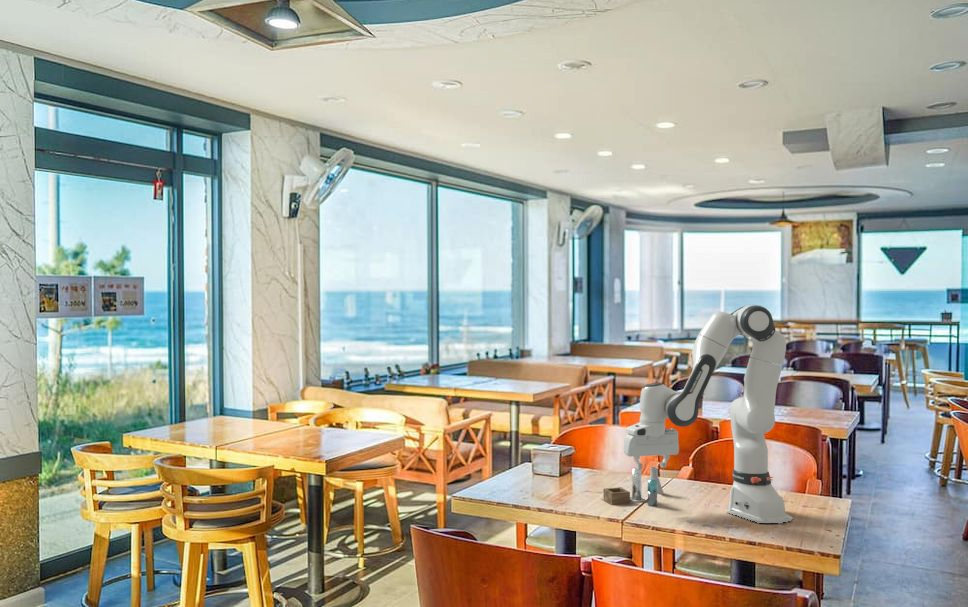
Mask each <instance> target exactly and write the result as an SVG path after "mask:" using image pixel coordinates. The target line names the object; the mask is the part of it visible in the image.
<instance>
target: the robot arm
mask: <svg viewBox="0 0 968 607" xmlns="http://www.w3.org/2000/svg"><path fill="white" fill-rule="evenodd" d="M738 336H744V337H749V338H750V339H751V341H752V350H751V352H750V355H749V358H748V362H747V366H746V369H745V374H744V377H743V383H744V385H743V396H741V397H738V398H735V399H734V400H732V402H730V405H729V407H728V413H729V417H730V427H731V433H732V439H733V453H734V454H733V459H734V460H733V461H734V462H733V464H734V465H733V466H734V468H732V480H733V483H732V486H731V488H730V492H729V500H728V501H729V503H728V508H726V511H725V512H726V514H729V513H730V514H729V515H732V514H733V516H735V515H737V516H736V517H738V516H739V517H738V518H741V517H742V518H741V519H744V518H745V519H744V520H747V519H748V520H747V521H750V520H751V521H750V522H752V521H755V522H757V523H756V524H759V523H778V524H784V523H783V522H786V523H789V522H788V521H790V522H792V521H793V520H794V518H793V516H791V515H790V514H788V513H787V512H786V506H785V504H786V503H785V501H784V498H783V497H782V496H781V495H780V494H779V493H778V492H777V490H776V489H775V488H774V486H773V485H772V481H773V478H774V477H773V476H771V475H770V472H769V467H768V466H769V463H768V462H769V456H768V454H769V449H768V446H767V442H766V437H765V434H767V433H769V432H771V430H772V429H773V428H774V427H775V423H776V417H775V408H776V407H775V406H776V396H777V389H778V384H779V379H780V377H781V372H782V369H783V367H784V366H783V365H784V362H785V357H786V350H787V339H786V337H785V335H784V334H782V333H781V332H779V331H777V330H776V327H775V323H774V319H773V315H772V313H771V312H770V310H768V309H767V308H766V307H765V306H762V305H755V304H749V305H744V306H742V307H739V308H737V309H736V310H735V311H733V312H731V313H728V312H726V311H715V312H714V313H712V314H711V316H710V317H709V318H708V319H707V320H706V322H705V324H704V325H703V326H702V328H701V329H700V331H699V333H698V335H697V336H696V338H695V341H694V344H693V347H692V349H691V356H692V365H693V366H692V369H691V373H690V375H689V377H688V379H687V380H686V383H685V385H684V388H683V389H682V391H681V392H678V391H676V390H673V389H672V388H669V387H668V386H666V385H665V384H664V382H663V383H662V382H652V383H648V384H645V385H644V386H643V387H642V388H641V392H640V396H639V397H640V400H639V408H640V416H639V422H636V423H634V424H632V425H630V426H629V425H628V426H627V427H626V433H627V434H626V435H625V436H624V441H623V442H624V443H623V453H624V455H625V456H627V457H631V458H633V460H634V462H635V468H637V469H641V470H642V468H643V463H642V462H640V457H649V456H650V457H653V456H654V457H655V456H662V457H663V459H662V461H660V462H659V467H660V468H662V469H663V468H667V463H668V461H669V459H670V456H672V455H673V456H676V455H678V454H679V453H680V452H679V451H680V444H679V431H678V430H677V429H675V428H673V427H671V428H666V419H669V421H670V422H671V423H672V424H674V425H675V426H677V427H680V428H681V427H683V428H684V427H688V426H692V424H693V423H695V421H696V420H697V419H698V416H699V407H700V406H699V405H700V401H701V399H702V396H703V394H704V393H705V391H706V387H707V386H708V384H709V382H710V380H711V377H712V375H713V373H714V372H715V370H716V369H717V368H718V366H719V364H720V363H721V361H722V360H723V358H724V357H725V355H726V354H727V352H728V349H729V348H730V346H731V343H732V342H733V340H734V339H735V338H736V337H738ZM792 519H793V520H792ZM791 520H792V521H791ZM755 522H754V523H755Z"/></svg>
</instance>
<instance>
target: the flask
mask: <svg viewBox="0 0 968 607" xmlns="http://www.w3.org/2000/svg"><path fill="white" fill-rule="evenodd" d="M649 469H650V475H649V479H656V480H657V495H658V494H659V495H660V496H663V495H664V493H665V492H664V490H663V487H662V484H661V480H660V478H659V471H658V470H659V469H660V468H659V467H658V466H650V467H649ZM644 492H646V493H648V484H646V488H645V490H644Z"/></svg>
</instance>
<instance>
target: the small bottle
mask: <svg viewBox="0 0 968 607" xmlns="http://www.w3.org/2000/svg"><path fill="white" fill-rule="evenodd" d="M647 485H648V492H647V501H648V502H647V506H649V507H651V508H653V507H657V506H658V494H657V480H656V479H650V478H647Z"/></svg>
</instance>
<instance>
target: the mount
mask: <svg viewBox="0 0 968 607" xmlns="http://www.w3.org/2000/svg"><path fill="white" fill-rule="evenodd" d="M601 501H604V503H607V504H608V505H610V506H621V505H632V504H642V503H643V504H644V503H648V499H644V498H643V497H642V499H641V500H633V499H632V496H631V492H630V491H628V490H627V489H625V488H623V487H608V488H603V498H602V499H601Z"/></svg>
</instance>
